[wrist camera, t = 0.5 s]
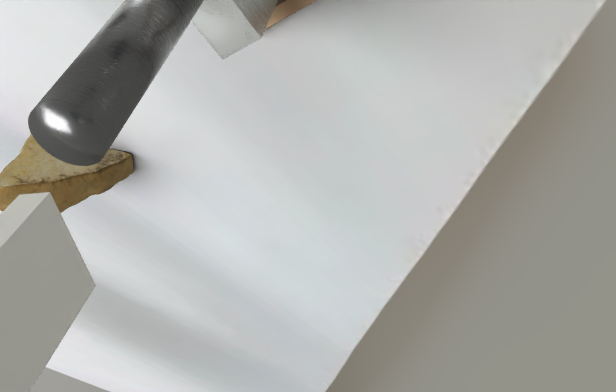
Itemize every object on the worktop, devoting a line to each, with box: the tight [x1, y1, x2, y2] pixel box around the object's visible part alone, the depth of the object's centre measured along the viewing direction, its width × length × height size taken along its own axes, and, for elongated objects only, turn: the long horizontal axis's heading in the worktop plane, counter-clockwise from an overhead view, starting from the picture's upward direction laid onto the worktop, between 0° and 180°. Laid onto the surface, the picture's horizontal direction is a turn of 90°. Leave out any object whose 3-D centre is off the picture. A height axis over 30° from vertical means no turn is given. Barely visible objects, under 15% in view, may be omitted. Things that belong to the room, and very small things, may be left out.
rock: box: [0, 134, 133, 213], centre depth 53 cm, size 11×9×10 cm
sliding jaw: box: [28, 0, 278, 166], centre depth 30 cm, size 3×10×22 cm, turn 34°
